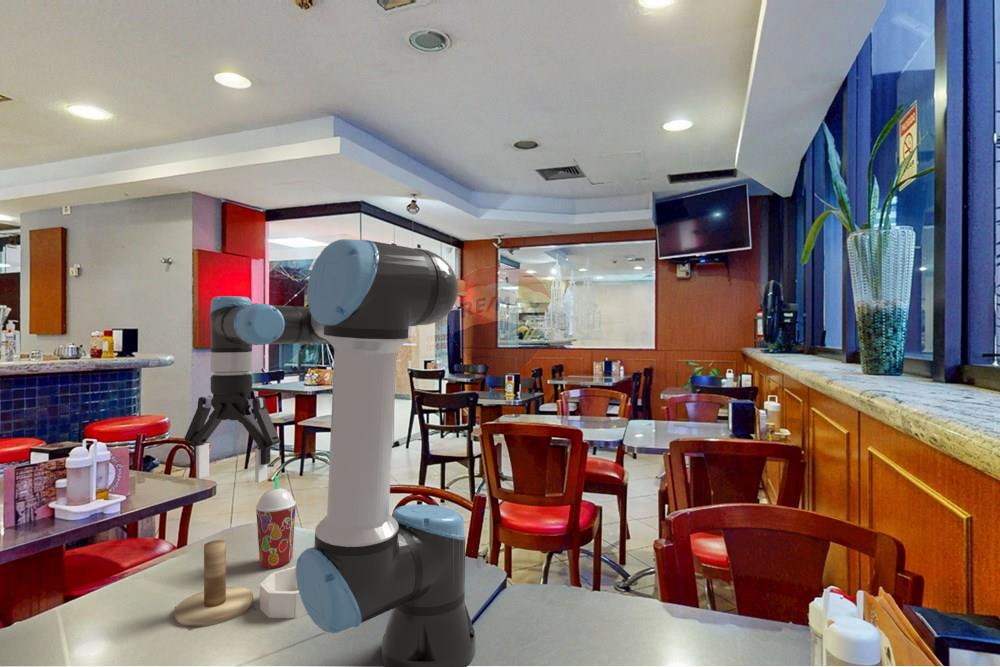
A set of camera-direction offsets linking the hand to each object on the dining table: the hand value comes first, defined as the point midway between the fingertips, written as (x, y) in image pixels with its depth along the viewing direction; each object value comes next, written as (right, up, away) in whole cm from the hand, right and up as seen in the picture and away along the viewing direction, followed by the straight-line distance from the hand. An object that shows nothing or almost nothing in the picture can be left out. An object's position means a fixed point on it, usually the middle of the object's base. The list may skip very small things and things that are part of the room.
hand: (231, 479), depth 109 cm
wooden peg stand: (+1, -22, -8) cm, 23 cm away
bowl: (+15, -23, -5) cm, 28 cm away
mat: (+1, -23, -8) cm, 24 cm away
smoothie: (+4, -23, +13) cm, 27 cm away
